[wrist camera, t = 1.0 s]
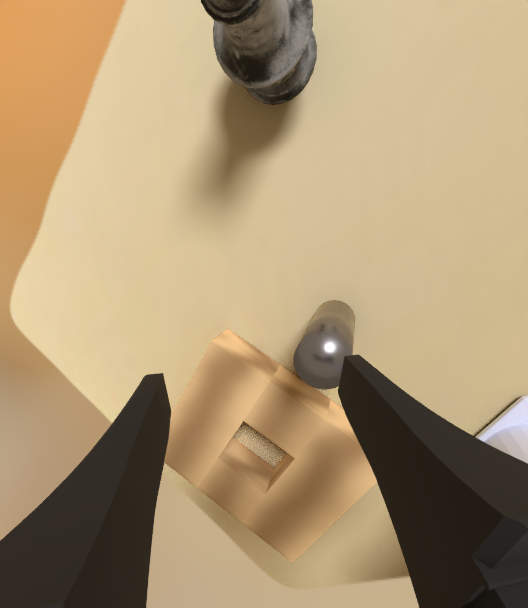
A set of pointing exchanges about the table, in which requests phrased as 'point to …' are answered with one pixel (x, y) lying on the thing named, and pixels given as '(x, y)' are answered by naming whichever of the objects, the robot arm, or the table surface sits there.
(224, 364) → the oak hole block
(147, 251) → the table surface
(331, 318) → the metal peg
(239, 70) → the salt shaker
